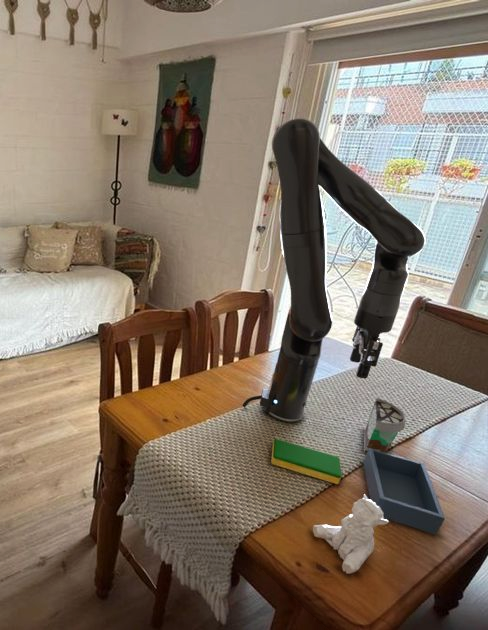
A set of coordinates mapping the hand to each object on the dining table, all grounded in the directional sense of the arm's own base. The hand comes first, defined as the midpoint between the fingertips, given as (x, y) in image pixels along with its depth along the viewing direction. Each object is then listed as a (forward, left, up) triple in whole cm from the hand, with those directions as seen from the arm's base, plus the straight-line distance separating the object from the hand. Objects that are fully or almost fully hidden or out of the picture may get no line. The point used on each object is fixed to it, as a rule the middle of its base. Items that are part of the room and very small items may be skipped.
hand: (357, 369), depth 108 cm
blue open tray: (+10, -21, -18) cm, 29 cm away
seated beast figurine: (-1, -41, -18) cm, 45 cm away
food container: (+9, -4, -18) cm, 20 cm away
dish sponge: (-8, -20, -18) cm, 28 cm away
